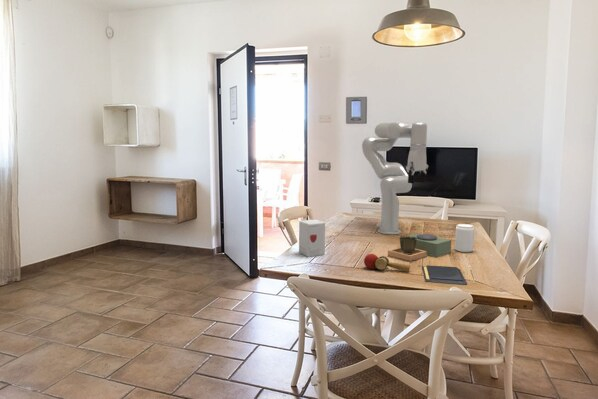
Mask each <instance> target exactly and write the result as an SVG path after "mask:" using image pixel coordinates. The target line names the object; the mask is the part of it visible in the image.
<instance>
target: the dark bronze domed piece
mask: <svg viewBox="0 0 598 399" xmlns="http://www.w3.org/2000/svg"><path fill="white" fill-rule="evenodd" d="M405 236H406V237H405ZM416 241H417V239H416V238H415V237H411V238H410V236H409V235H403V236H402V235H401V236H399V245H400V246H399V247H401V250H402V251H404V252H403V254H407V255H411V254H412V252H413V251H414V250H415V247H416Z"/></svg>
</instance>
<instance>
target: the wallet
mask: <svg viewBox="0 0 598 399" xmlns="http://www.w3.org/2000/svg"><path fill="white" fill-rule="evenodd" d="M421 270H422V273H423V278H424V282H425V283H432V284H434V283H435V284H447V285H458V286H459V285H460V286H467V285H468V283H467V281H466V279H465V276H464V275H463V273H462V270H461V269H460V268H458V267H457V266H445V265H444V266H443V265H426V266H425V265H422V266H421Z"/></svg>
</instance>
